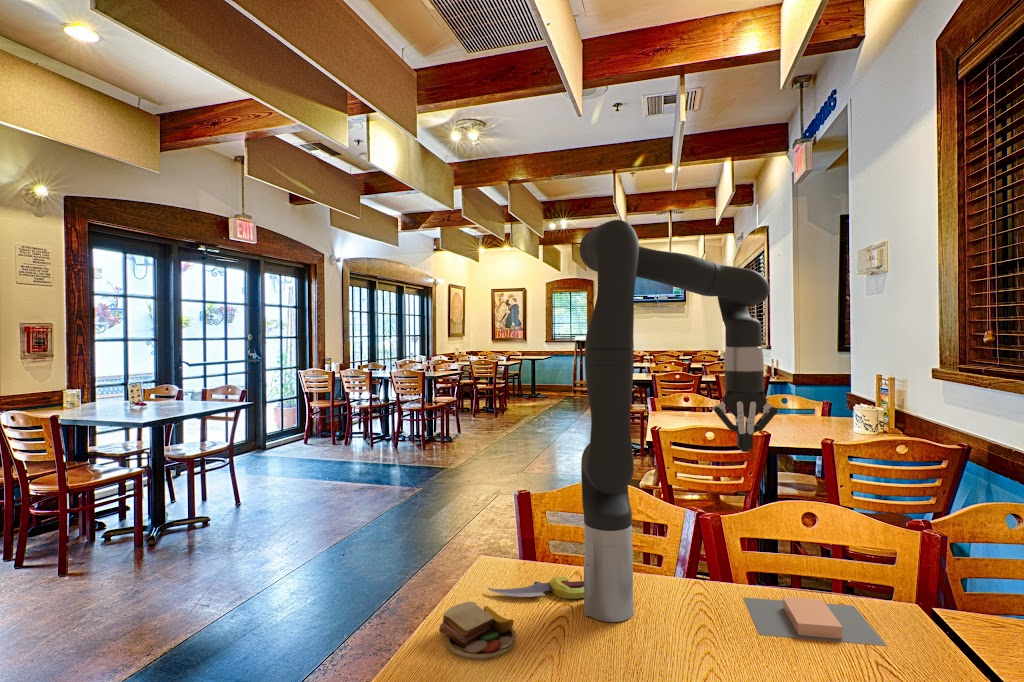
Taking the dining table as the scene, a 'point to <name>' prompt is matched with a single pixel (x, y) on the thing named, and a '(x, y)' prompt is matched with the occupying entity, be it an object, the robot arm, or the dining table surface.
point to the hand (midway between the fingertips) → (745, 451)
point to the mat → (777, 623)
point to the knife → (555, 585)
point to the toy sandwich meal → (477, 632)
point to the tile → (812, 617)
